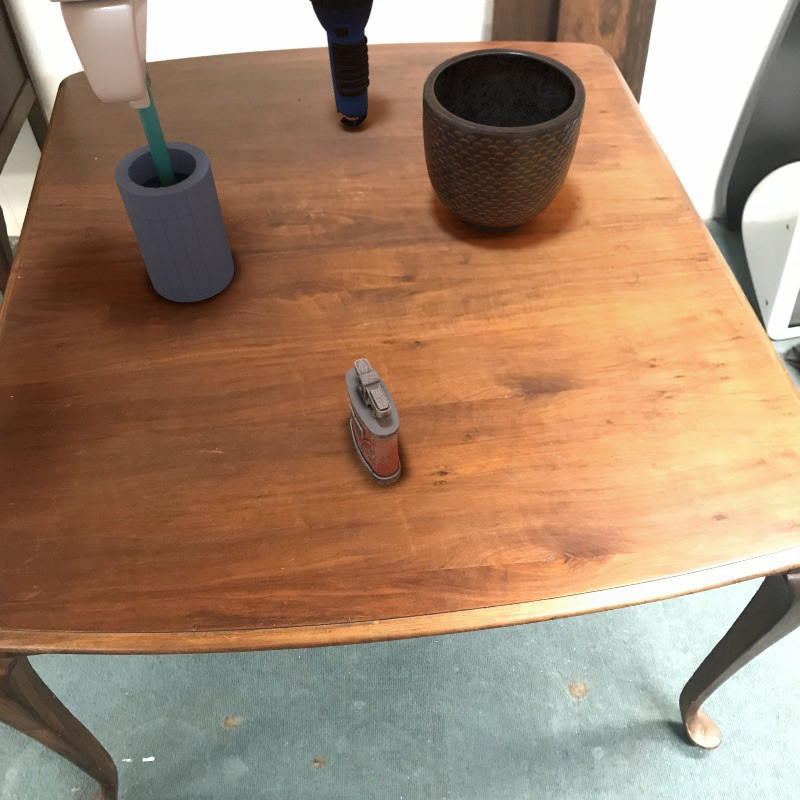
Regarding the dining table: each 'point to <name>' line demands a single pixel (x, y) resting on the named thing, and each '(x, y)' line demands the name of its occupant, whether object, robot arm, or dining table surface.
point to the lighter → (373, 422)
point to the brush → (157, 143)
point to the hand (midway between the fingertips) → (141, 96)
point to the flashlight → (347, 54)
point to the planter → (500, 134)
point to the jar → (177, 222)
